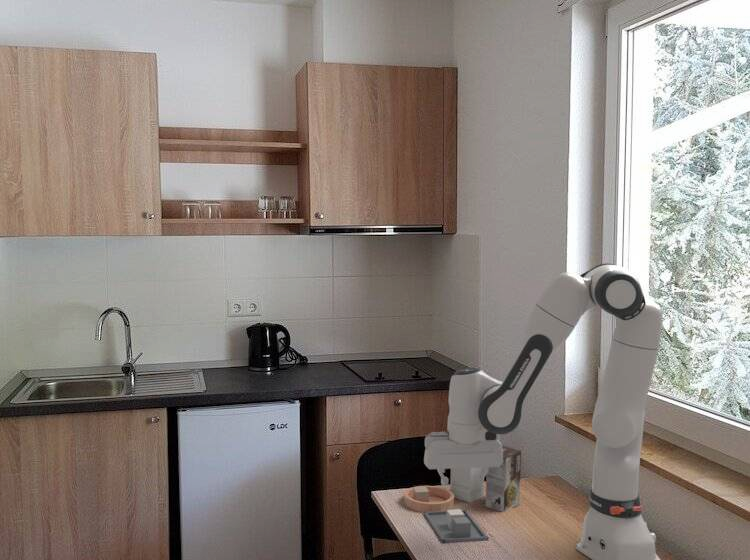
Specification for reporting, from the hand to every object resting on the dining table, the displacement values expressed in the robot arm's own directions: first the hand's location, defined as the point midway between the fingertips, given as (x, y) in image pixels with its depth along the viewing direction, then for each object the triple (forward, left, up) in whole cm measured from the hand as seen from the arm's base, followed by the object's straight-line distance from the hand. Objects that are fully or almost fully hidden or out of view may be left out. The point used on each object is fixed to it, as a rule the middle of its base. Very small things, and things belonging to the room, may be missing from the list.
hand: (462, 483), depth 202 cm
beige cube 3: (+5, 0, -14) cm, 15 cm away
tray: (+5, 0, -14) cm, 15 cm away
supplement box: (+26, -10, -14) cm, 32 cm away
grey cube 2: (0, 0, -14) cm, 14 cm away
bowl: (+22, +2, -14) cm, 27 cm away
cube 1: (+22, +5, -14) cm, 27 cm away
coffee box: (+18, -18, -14) cm, 30 cm away
